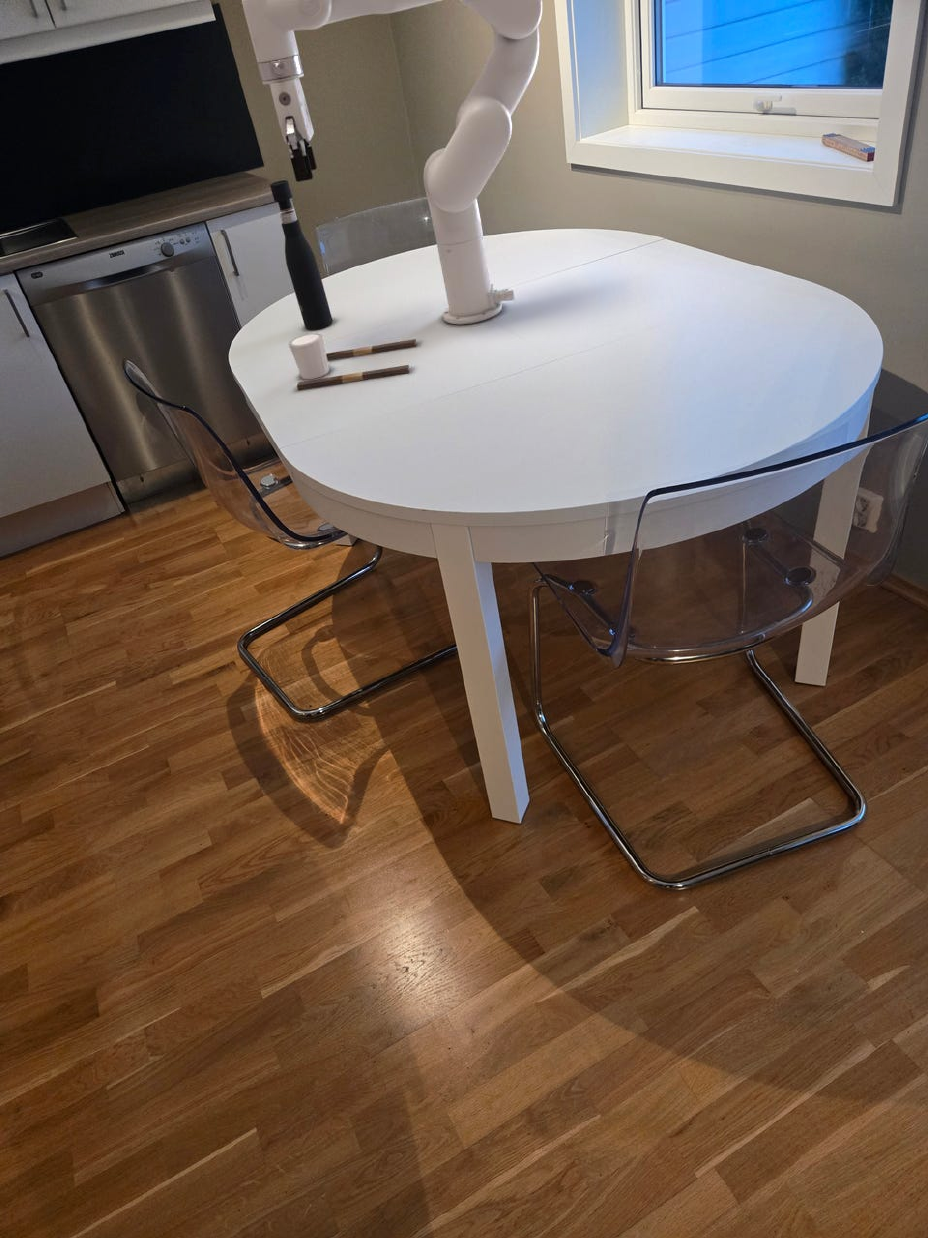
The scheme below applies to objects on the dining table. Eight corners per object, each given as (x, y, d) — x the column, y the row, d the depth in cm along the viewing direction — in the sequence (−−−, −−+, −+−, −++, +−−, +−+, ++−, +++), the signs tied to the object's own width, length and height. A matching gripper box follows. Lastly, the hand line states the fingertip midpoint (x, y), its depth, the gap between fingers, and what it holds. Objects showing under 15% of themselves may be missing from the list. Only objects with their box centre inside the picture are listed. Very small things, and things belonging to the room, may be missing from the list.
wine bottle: (338, 319, 199) (299, 176, 182) (323, 330, 195) (282, 185, 177) (315, 319, 202) (275, 179, 184) (300, 330, 198) (257, 188, 180)
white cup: (325, 378, 171) (315, 344, 166) (293, 382, 173) (282, 347, 168) (336, 364, 176) (327, 330, 172) (305, 367, 178) (295, 334, 174)
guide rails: (416, 343, 177) (415, 338, 177) (408, 372, 165) (407, 367, 165) (313, 360, 180) (311, 355, 180) (298, 390, 169) (296, 385, 168)
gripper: (297, 70, 149) (323, 180, 159) (305, 62, 163) (329, 163, 173) (254, 79, 149) (283, 187, 159) (266, 70, 163) (292, 170, 173)
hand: (307, 175), depth 166 cm, fingers open, 9 cm apart
